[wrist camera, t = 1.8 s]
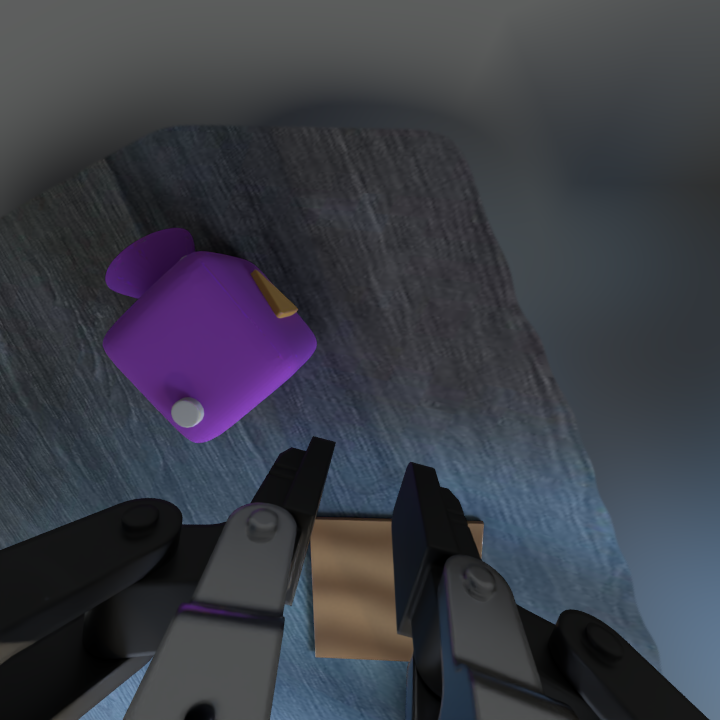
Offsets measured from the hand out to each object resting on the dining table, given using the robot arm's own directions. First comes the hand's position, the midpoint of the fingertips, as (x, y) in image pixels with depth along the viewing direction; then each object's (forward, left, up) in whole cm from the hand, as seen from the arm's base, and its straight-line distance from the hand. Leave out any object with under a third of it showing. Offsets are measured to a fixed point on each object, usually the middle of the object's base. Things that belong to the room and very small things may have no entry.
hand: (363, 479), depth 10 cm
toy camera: (0, -12, -19) cm, 23 cm away
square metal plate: (+22, +8, -19) cm, 30 cm away
